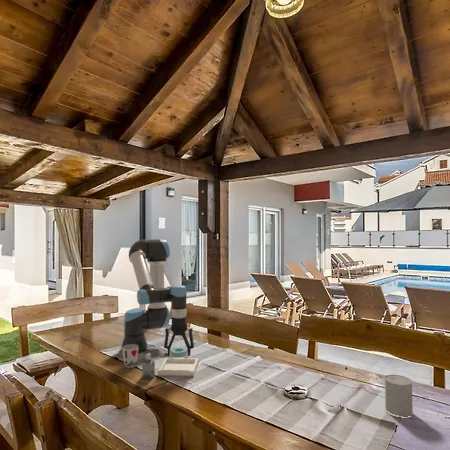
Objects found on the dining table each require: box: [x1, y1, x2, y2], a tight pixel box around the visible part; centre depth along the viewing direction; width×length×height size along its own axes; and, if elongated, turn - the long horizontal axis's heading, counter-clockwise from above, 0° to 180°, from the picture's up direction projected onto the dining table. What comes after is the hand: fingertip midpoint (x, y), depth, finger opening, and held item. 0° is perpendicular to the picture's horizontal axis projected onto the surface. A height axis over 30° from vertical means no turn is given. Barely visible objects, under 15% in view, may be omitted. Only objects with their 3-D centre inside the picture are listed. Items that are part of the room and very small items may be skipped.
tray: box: [157, 357, 199, 378], centre depth 178 cm, size 17×17×2 cm
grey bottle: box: [141, 352, 156, 381], centre depth 169 cm, size 6×6×11 cm
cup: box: [121, 344, 139, 369], centre depth 183 cm, size 8×8×10 cm
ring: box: [171, 347, 187, 358], centre depth 179 cm, size 9×8×2 cm
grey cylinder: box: [384, 374, 414, 417], centre depth 136 cm, size 10×10×12 cm
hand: (179, 362), depth 178 cm, fingers closed on ring, 8 cm apart
